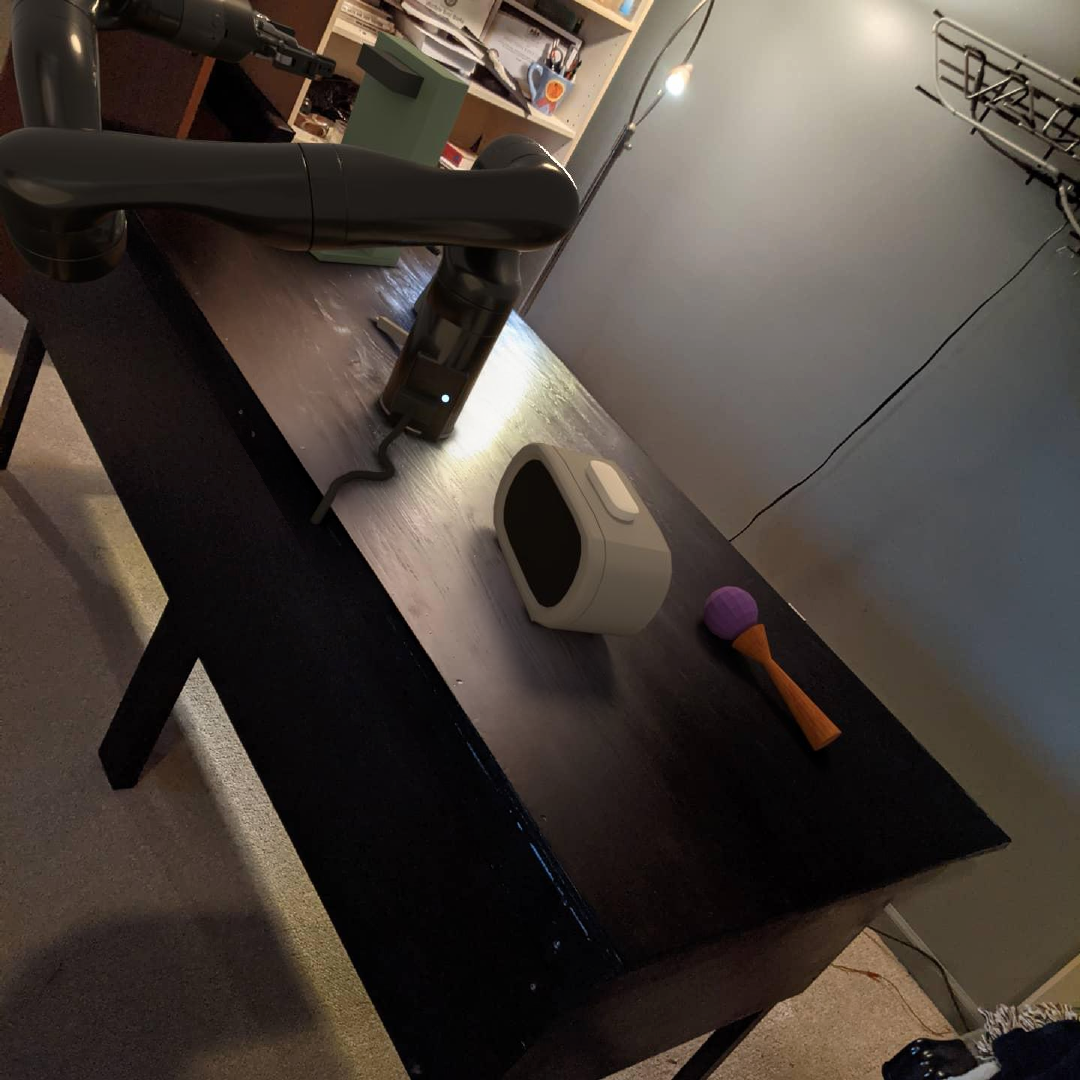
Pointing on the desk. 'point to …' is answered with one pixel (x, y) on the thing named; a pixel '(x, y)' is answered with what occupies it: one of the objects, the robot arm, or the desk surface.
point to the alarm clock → (580, 542)
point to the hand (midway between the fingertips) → (312, 53)
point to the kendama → (764, 657)
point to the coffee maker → (399, 117)
